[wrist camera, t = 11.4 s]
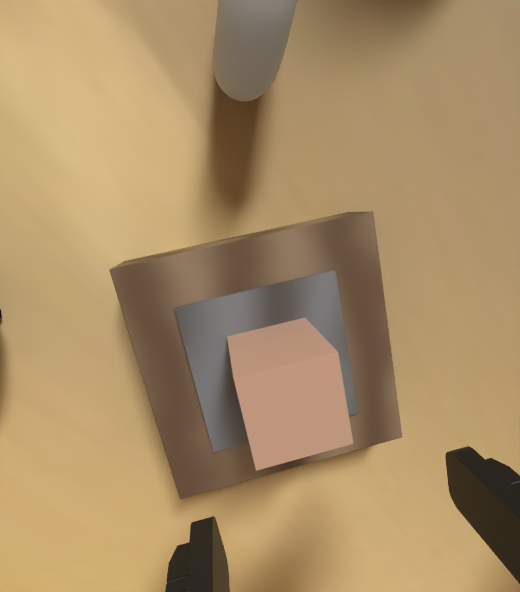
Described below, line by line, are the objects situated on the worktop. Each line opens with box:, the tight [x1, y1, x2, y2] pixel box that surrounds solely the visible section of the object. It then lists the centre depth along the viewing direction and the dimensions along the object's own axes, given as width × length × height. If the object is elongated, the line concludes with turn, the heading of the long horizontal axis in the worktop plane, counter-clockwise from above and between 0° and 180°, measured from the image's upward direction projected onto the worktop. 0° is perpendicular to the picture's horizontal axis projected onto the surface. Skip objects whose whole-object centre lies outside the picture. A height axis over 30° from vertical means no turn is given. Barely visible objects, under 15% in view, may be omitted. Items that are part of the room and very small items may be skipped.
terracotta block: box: [227, 318, 353, 471], centre depth 20 cm, size 5×5×6 cm
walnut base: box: [110, 212, 402, 499], centre depth 25 cm, size 16×16×4 cm
